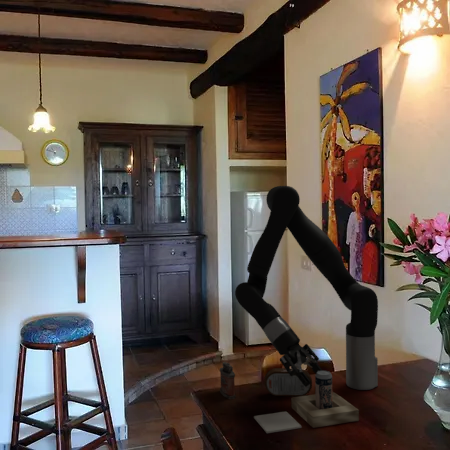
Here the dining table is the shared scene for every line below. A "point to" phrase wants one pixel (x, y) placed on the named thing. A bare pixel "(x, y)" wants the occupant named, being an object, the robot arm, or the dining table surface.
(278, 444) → the dining table surface
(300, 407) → the socket block
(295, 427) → the pad
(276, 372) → the tin
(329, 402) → the beer can
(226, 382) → the lighter
